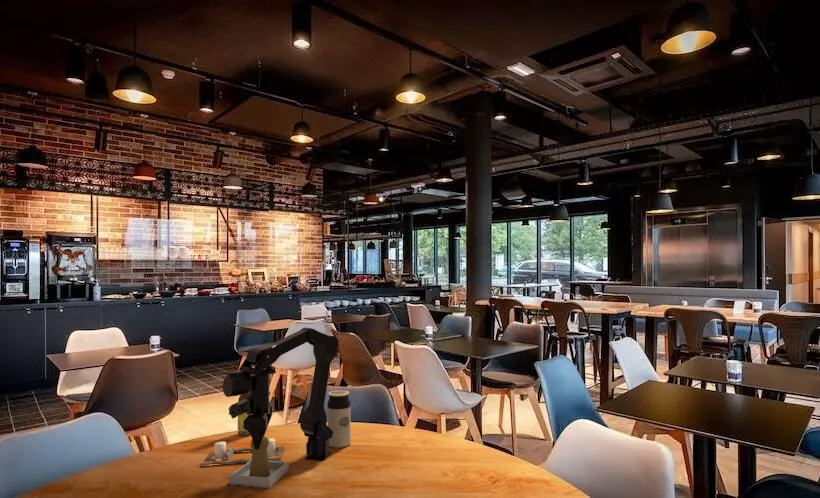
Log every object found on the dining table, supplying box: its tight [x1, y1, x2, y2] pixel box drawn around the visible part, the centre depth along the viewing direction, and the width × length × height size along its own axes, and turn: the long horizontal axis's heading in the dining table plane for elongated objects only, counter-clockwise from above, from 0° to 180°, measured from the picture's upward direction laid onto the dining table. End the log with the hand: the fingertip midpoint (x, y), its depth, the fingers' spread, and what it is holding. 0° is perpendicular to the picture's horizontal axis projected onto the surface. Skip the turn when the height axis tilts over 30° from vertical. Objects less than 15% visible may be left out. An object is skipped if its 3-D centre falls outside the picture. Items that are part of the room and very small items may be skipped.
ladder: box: [201, 444, 285, 465], centre depth 162 cm, size 24×12×2 cm, turn 99°
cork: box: [249, 435, 270, 477], centre depth 145 cm, size 6×6×11 cm
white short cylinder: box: [213, 441, 227, 459], centre depth 160 cm, size 4×4×5 cm
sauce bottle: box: [237, 392, 252, 437], centre depth 186 cm, size 7×6×20 cm
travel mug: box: [327, 389, 352, 449], centre depth 173 cm, size 8×8×18 cm
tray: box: [228, 460, 290, 489], centre depth 145 cm, size 13×13×2 cm
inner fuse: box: [267, 437, 276, 457], centre depth 163 cm, size 4×4×5 cm
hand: (259, 443), depth 145 cm, fingers open, 9 cm apart
